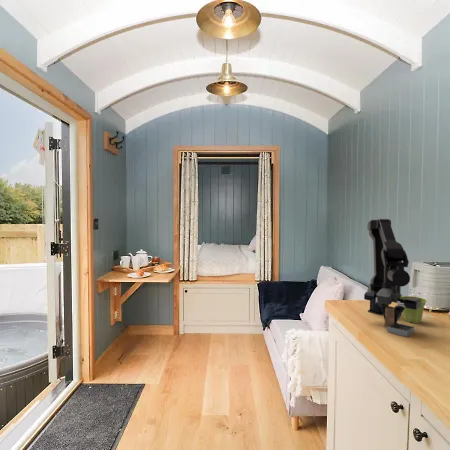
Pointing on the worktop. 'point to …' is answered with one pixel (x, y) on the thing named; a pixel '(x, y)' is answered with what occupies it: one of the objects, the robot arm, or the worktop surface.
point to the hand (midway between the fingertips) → (390, 322)
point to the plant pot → (413, 311)
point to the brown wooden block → (389, 315)
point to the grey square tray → (400, 329)
